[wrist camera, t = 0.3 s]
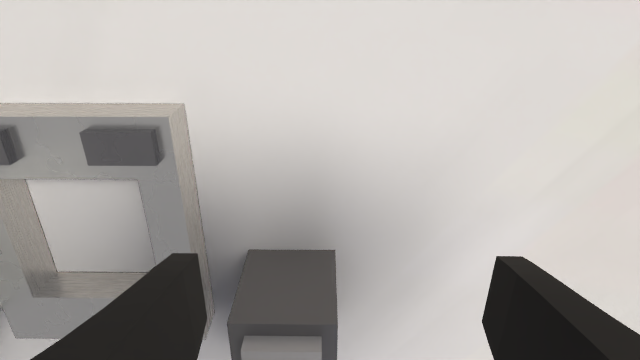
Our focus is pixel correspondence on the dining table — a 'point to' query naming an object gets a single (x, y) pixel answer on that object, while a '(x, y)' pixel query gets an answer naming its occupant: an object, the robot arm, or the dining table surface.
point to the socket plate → (90, 163)
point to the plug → (285, 307)
